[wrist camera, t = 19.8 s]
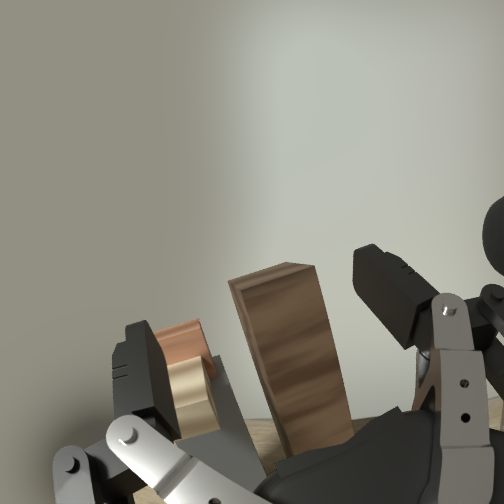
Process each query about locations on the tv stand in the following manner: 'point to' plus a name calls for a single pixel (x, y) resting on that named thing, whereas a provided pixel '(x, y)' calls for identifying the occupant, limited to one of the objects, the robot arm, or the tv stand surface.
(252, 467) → the tall grey block
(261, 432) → the tv stand surface
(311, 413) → the tall stand
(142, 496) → the tv stand surface
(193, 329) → the two-tone block
